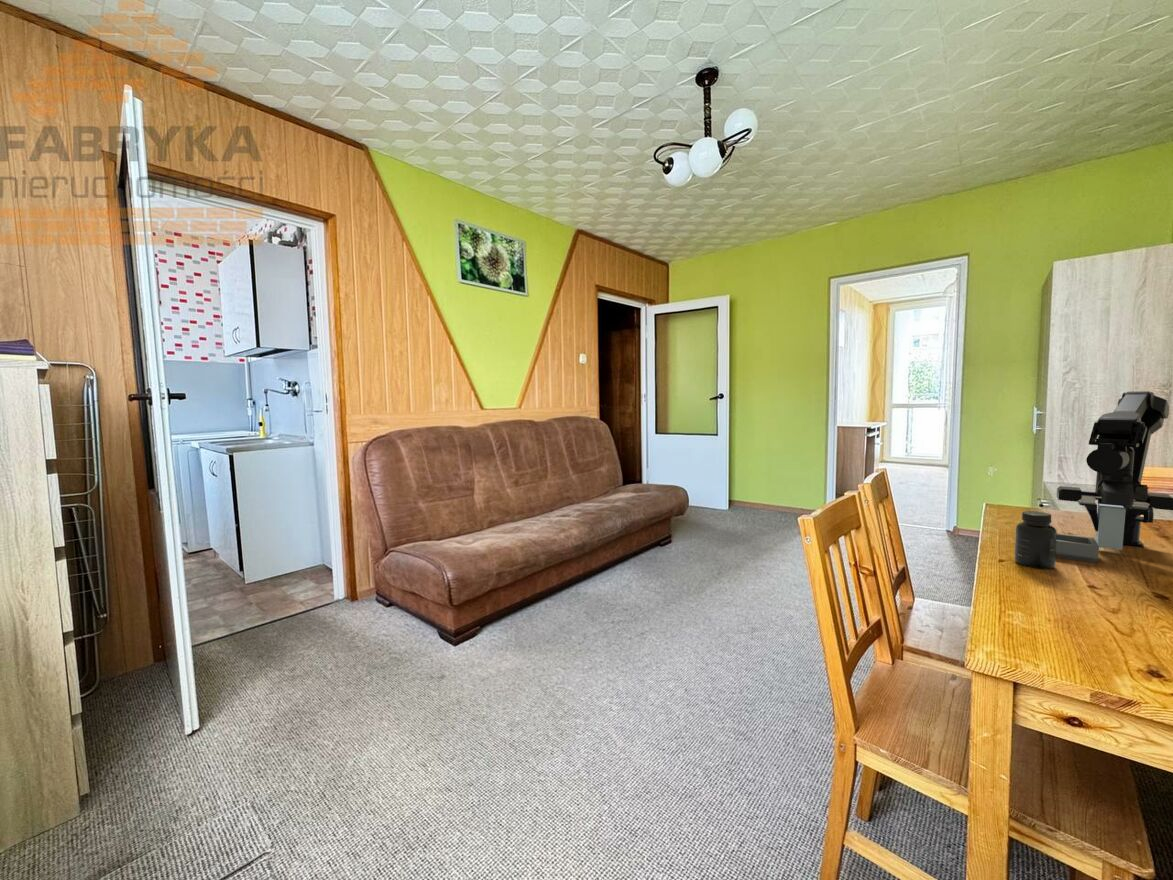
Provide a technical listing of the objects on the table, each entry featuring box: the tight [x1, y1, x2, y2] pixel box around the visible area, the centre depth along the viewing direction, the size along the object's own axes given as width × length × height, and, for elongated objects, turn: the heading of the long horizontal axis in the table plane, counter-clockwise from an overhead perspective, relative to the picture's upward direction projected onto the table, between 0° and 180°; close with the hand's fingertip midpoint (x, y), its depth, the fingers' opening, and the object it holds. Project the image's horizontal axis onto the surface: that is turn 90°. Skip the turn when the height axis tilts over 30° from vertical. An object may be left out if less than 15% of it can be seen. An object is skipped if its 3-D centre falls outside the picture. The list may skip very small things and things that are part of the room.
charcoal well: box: [1056, 533, 1100, 564], centre depth 113 cm, size 8×8×4 cm
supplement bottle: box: [1014, 510, 1058, 570], centre depth 108 cm, size 7×7×12 cm
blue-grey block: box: [1094, 503, 1126, 551], centre depth 114 cm, size 4×4×10 cm
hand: (1109, 532), depth 114 cm, fingers closed on blue-grey block, 4 cm apart
